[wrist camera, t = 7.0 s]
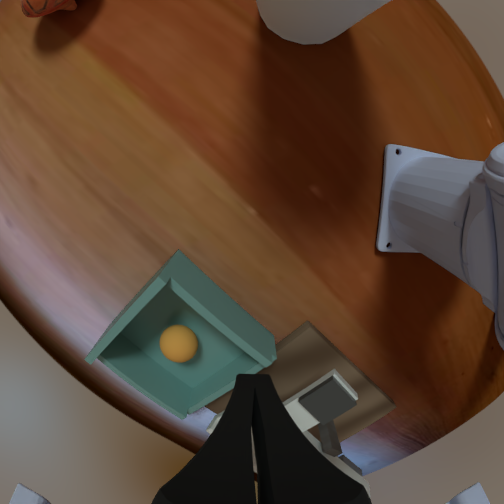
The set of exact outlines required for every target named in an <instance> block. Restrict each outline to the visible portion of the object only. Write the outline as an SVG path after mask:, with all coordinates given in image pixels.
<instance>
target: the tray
mask: <svg viewBox="0 0 504 504" xmlns="http://www.w3.org/2000/svg"><path fill="white" fill-rule="evenodd" d="M357 399H358V395H357V393H356V392H355V391H354V389H353V388H352V387H351V386H350V385H349V384H348V383H347V382H346V381H345V380H344V378H343V377H342V376H341V375H340V374H339V373H338V372H337V371H336V370H335V369H333V370H331V371H330V372H329V373H327V374H326V375H324V376H323V377H321V378H320V379H318V380H317V381H315V382H314V383H312V384H311V385H309V386H308V387H306V388H305V389H303V390H302V391H300V392H299V393H297V394H295V395H294V396H292V397H291V398H289V399H287V400H286V401H284V402H282V403H283V404H284V406H285V408H286V410H287V411H288V413H289V415H290V416H291V418H292V419H293V421H294V422H295V423H296V425H297V426H298V428H299V429H300V430H301V432H302V433H303V434H304V435H305V437H306V438H307V439H308V440H309V441H310V442H311V443H312V445H313V446H314V447H315V448H316V449H317V450H318V451H319V452H320V453H321V454H322V455H324V456H325V457H326V458H327V459H328V460H329V461H330V462H331V463H332V464H334V465H335V466H336V467H337V468H339V469H340V470H341V471H343V472H344V473H345V474H347V475H348V476H350V477H351V478H352V479H354V480H356V481H357V482H359V483H360V484H362V485H363V486H364V487H365V489H366V491H367V493H368V495H369V497H371V496H370V486H369V482H368V481H367V480H366V479H364V478H363V477H362V470H361V469H360V468H359V467H357V466H356V465H355V464H354V463H353V462H351V461H350V460H349V459H348V458H347V457H345V456H344V455H342V456H340V457H337V456H336V457H333V456H331V455H328V454H326V453H324V451H323V446H322V443H321V442H320V441H318V440H317V439H316V438H315V437H314V436H313V435H312V434H311V433H309V432H308V431H307V430H308V429H310V428H311V427H313V426H315V425H317V424H319V423H321V424H322V425H325V424H327V423H328V422H330V421H332V420H333V419H335V418H337V417H338V416H340V415H342V414H343V413H345V412H346V411H348V410H350V409H351V408H353V407H354V406H356V405H357V403H356V400H357ZM224 411H225V410H224ZM224 411H222V412H221V413H219V414H217V415H215V416H214V418H213V420H212V421H211V423H210V425H209V426H208V428H207V430H206V431H207V432H208V433H209V434H210V435H211V433H212V432H213V430H214V429H215V427H216V425H217V424H218V422H219V420H220V418H221V416H222V414H223V413H224ZM251 435H252V426H251ZM252 454H253V469H254V472H256V473H257V465H256V457H255V450H254V442H253V435H252Z"/></svg>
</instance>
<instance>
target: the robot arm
mask: <svg viewBox="0 0 504 504" xmlns="http://www.w3.org/2000/svg"><path fill="white" fill-rule="evenodd" d="M396 149H398V150H399V154H398V155H397V154H396ZM389 242H390V246H389V247H386V245H387V243H389ZM376 247H377V249H378V250H379V251H381V252H414V253H422V254H423V255H425V256H427V257H428V258H430V259H431V260H433V261H434V262H436V263H437V264H439V265H440V266H442V267H443V268H445V269H446V270H448V271H449V272H451V273H452V274H454V275H455V276H456V277H458V278H459V279H461V280H462V281H464V282H465V283H466V284H468V285H469V286H471V287H472V288H474V289H475V290H476V291H478V292H479V293H480V294H481V296H482V299H483V304H484V305H486V306H487V307H488V308H489V309H491V310H492V311H493V312H494V313H495V333H496V336H497V340H498V342H499V344H500V346H501V347H502V348H503V350H504V142H503V143H501V144H499V145H498V146H496V147H495V148H494V149H493V150H492V151H491V153H490V155H489V157H488V158H487V159H486V160H485V162H482V161H473V160H464V159H456V158H452V157H448V156H444V155H440V154H436V153H432V152H428V151H424V150H419V149H415V148H410V147H405V146H400V145H395V144H388V145H387V146H386V147H385V156H384V174H383V188H382V199H381V209H380V218H379V227H378V234H377V242H376ZM251 426H252V435H253V442H254V450H255V457H256V465H257V483H258V504H372V503H371V500H370V497H369V495H368V493H367V491H366V489H365V487H364V486H363V485H362V484H360V483H359V482H357V481H356V480H354V479H352V478H351V477H350V476H348V475H347V474H345V473H344V472H343V471H341V470H340V469H339V468H337V467H336V466H335V465H334V464H332V463H331V462H330V461H329V460H328V459H327V458H326V457H325V456H324V455H322V454H321V453H320V452H319V451H318V450H317V449H316V448H315V447H314V446H313V445H312V443H311V442H310V441H309V440H308V439H307V438H306V437H305V435H304V434H303V433H302V432H301V430H300V429H299V428H298V426H297V425H296V423H295V422H294V421H293V419H292V418H291V416H290V415H289V413H288V411H287V410H286V408H285V406H284V404H283V403H282V401H281V399H280V397H279V395H278V393H277V391H276V389H275V387H274V384H273V382H272V379H271V376H270V375H269V374H238V375H236V381H235V385H234V389H233V392H232V394H231V397H230V399H229V402H228V404H227V406H226V409H225V411H224V413H223V414H222V416H221V418H220V420H219V422H218V424H217V425H216V427H215V429H214V430H213V432H212V433H211V435H210V436H209V438H208V439H207V441H206V442H205V443H204V445H203V446H202V447H201V449H200V450H199V451H198V452H197V454H196V455H195V456H194V457H193V458H192V459H191V460H190V461H189V462H188V463H187V465H186V466H185V467H184V468H183V469H182V470H181V471H180V472H179V473H178V474H176V475H175V476H174V477H173V478H172V479H171V480H170V481H168V482H167V483H166V484H165V485H163V486H162V487H161V488H160V489H159V491H158V492H157V494H156V496H155V498H154V499H153V501H152V504H257V503H256V493H255V483H254V469H253V454H252V435H251ZM9 504H51V503H50V502H49V501H48V500H47V499H45V498H44V497H43V496H41V495H39V494H38V493H36V492H34V491H32V490H30V489H29V488H27V487H25V486H24V485H22V484H21V483H18V485H17V487H16V489H15V491H14V493H13V496H12V498H11V500H10V503H9ZM445 504H490V502H489V500H488V498H487V496H486V494H485V492H484V490H483V488H482V486H481V484H480V483H479V482H477V483H476V484H474V485H472V486H471V487H469V488H467V489H465V490H464V491H462V492H460V493H459V494H457V495H456V496H455V497H453V498H452V499H451V500H450V501H449V502H447V503H445Z"/></svg>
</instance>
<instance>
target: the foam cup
mask: <svg viewBox="0 0 504 504" xmlns="http://www.w3.org/2000/svg"><path fill="white" fill-rule="evenodd" d="M389 1H391V0H256V2H257V6H258V11H259V12H260V16H261V18H262V19H263V21H264V23H265V24H266V26H267V28H268V29H270V30H271V31H273V32H274V33H276V34H277V35H279V36H280V37H281V38H283V39H285V40H289V41H293V42H296V43H299V44H303V45H304V44H323V43H325V42H327V41H329V40H331V39H333V38H335V37H337V36H338V35H340V34H341V33H343V32H344V31H345V30H347V29H348V28H350V27H351V26H353V25H354V24H355V23H357V22H358V21H360V20H361V19H363V18H364V17H366V16H367V15H369V14H370V13H372V12H373V11H375V10H376V9H378V8H380V7H381V6H383V5H384V4H386V3H388V2H389Z"/></svg>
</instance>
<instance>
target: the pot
mask: <svg viewBox="0 0 504 504" xmlns="http://www.w3.org/2000/svg"><path fill="white" fill-rule="evenodd" d="M76 7H77V4H76V2H75V0H21V8H22V11H23V13H24V14H25V16H27V17H40V16H44V15H47V14H50V13H52V12H55V11H57V10H68V11H72V10H75V9H76Z"/></svg>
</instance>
